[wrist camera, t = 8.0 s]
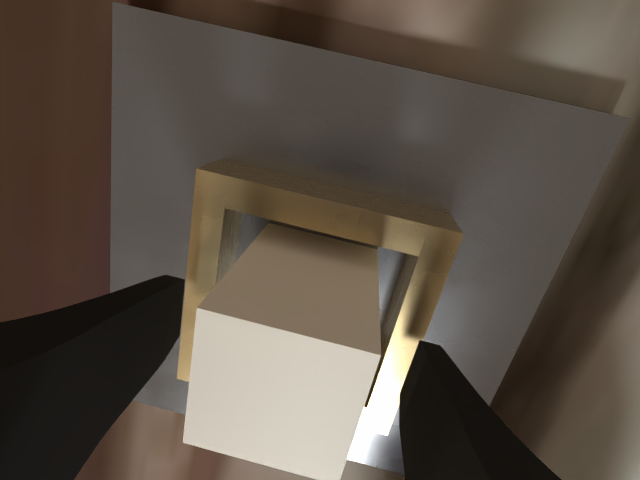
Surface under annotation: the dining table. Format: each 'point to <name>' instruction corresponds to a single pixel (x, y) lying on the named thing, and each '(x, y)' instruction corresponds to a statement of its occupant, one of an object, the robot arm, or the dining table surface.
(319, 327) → the cream block
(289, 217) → the socket plate
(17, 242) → the dining table surface
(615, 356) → the dining table surface
